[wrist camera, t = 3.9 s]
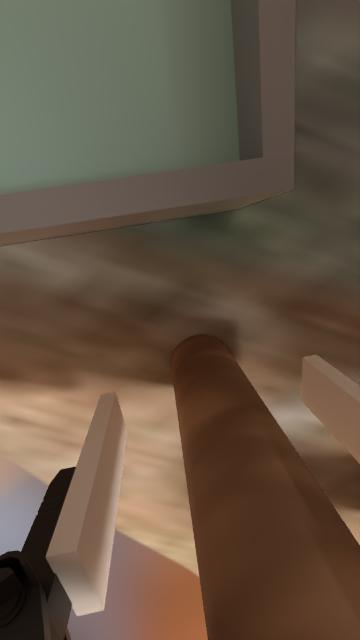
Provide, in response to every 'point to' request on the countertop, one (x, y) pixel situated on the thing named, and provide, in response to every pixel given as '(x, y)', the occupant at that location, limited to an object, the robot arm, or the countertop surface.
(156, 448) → the countertop surface
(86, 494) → the robot arm
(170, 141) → the bore box
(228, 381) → the walnut peg
